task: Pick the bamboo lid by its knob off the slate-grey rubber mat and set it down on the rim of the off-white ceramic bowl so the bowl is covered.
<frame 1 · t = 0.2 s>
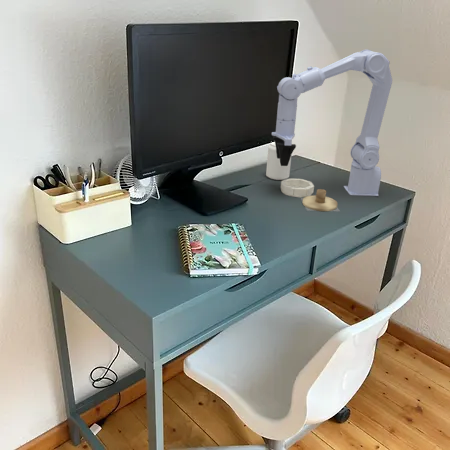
hand: (282, 161, 157), 10 cm above the table, fingers open, 7 cm apart
beverage can: (277, 177, 174), on the table
bowl: (296, 192, 160), on the table
lid: (319, 204, 151), resting on mat
mat: (319, 205, 151), on the table
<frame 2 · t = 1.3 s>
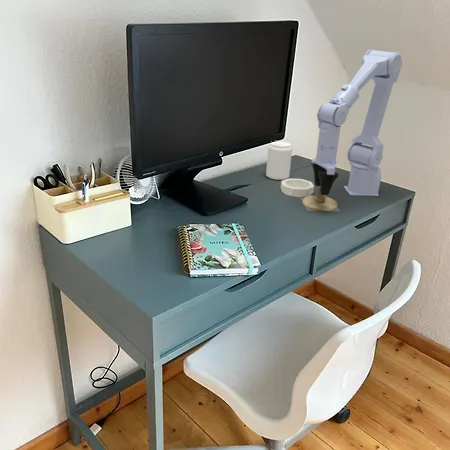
hand: (321, 190, 149), 5 cm above the table, fingers open, 7 cm apart
nothing on the table moved.
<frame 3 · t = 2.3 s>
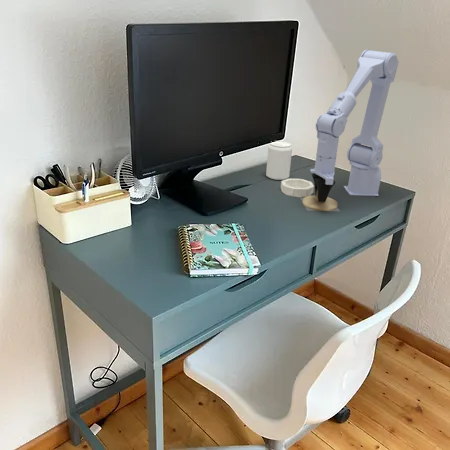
hand: (320, 199, 150), 2 cm above the table, fingers closed on lid, 3 cm apart
lid: (319, 204, 151), resting on mat, touching gripper
everything else where it was.
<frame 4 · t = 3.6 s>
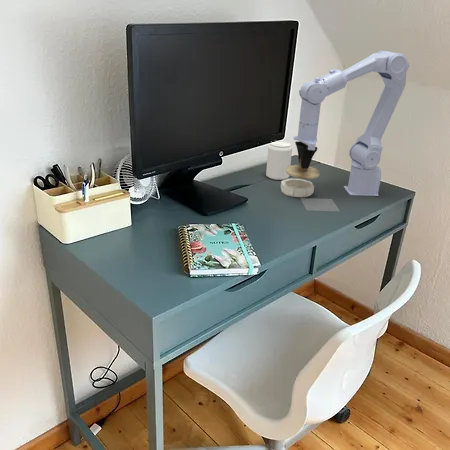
hand: (303, 166, 155), 9 cm above the table, fingers closed on lid, 3 cm apart
lid: (302, 173, 156), point 7 cm above the table, touching gripper
everything else where it was.
when the fingers open (6 cm above the table, at t = 4.7 s): lid stays where it is, resting on bowl.
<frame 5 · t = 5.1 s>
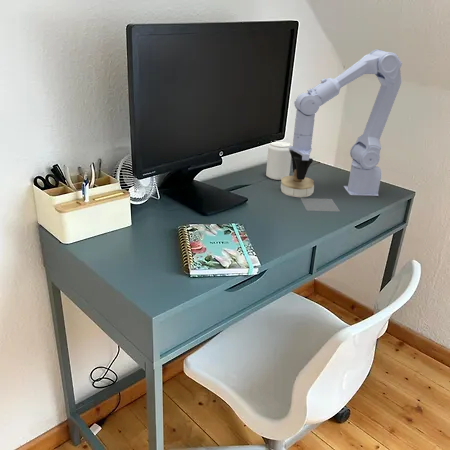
hand: (298, 175, 158), 6 cm above the table, fingers open, 6 cm apart
lid: (297, 183, 159), point 3 cm above the table, touching bowl
everything else where it was.
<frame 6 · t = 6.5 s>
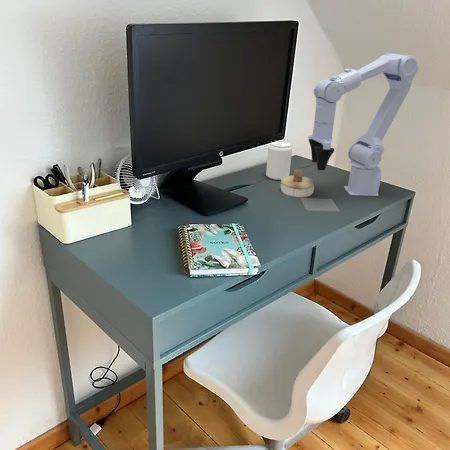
hand: (318, 165, 153), 10 cm above the table, fingers open, 7 cm apart
nothing on the table moved.
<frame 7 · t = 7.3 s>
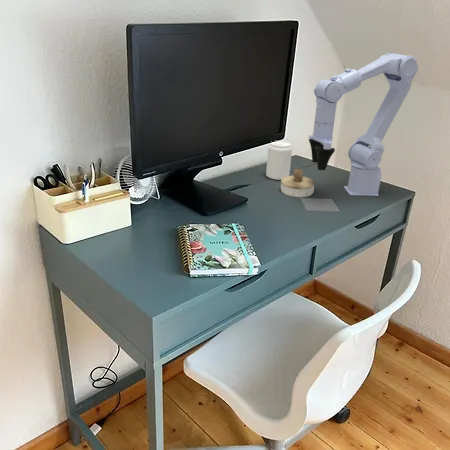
hand: (318, 165, 153), 10 cm above the table, fingers open, 7 cm apart
nothing on the table moved.
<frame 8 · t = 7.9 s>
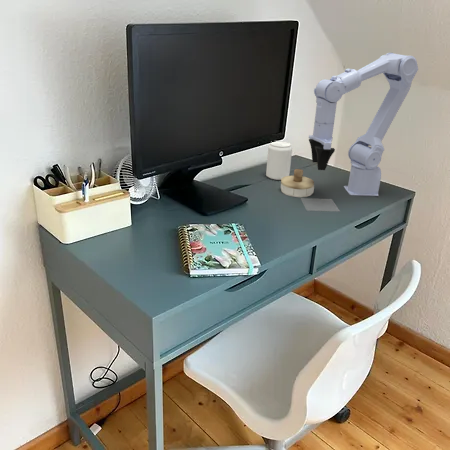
hand: (318, 165, 153), 10 cm above the table, fingers open, 7 cm apart
nothing on the table moved.
at the end: lid 0.1 cm from the bowl (horizontally); lid 0.1 cm off-centre on the bowl, point 3.0 cm above the bowl's base; lid tilted 0° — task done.
